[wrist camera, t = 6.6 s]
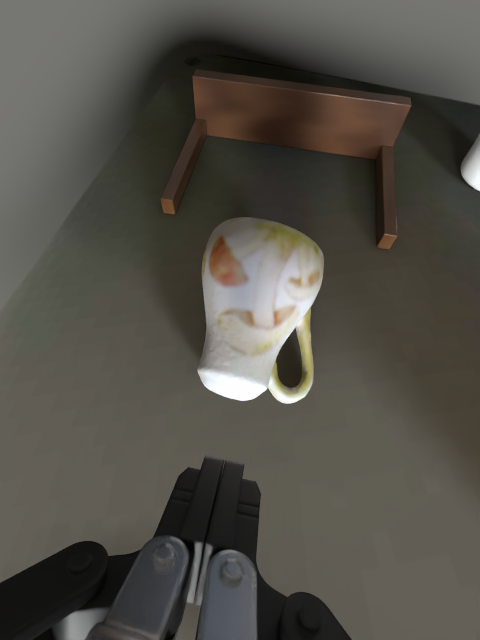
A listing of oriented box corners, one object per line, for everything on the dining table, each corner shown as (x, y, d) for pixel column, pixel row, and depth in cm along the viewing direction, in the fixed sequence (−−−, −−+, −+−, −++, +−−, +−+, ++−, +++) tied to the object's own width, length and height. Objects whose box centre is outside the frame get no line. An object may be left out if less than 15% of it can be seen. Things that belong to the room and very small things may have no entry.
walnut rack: (163, 213, 28) (151, 156, 23) (199, 126, 34) (195, 68, 29) (389, 249, 26) (421, 197, 22) (386, 153, 32) (410, 97, 28)
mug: (168, 408, 20) (136, 241, 15) (234, 327, 28) (227, 198, 23) (293, 446, 17) (305, 258, 12) (327, 344, 25) (343, 203, 20)
